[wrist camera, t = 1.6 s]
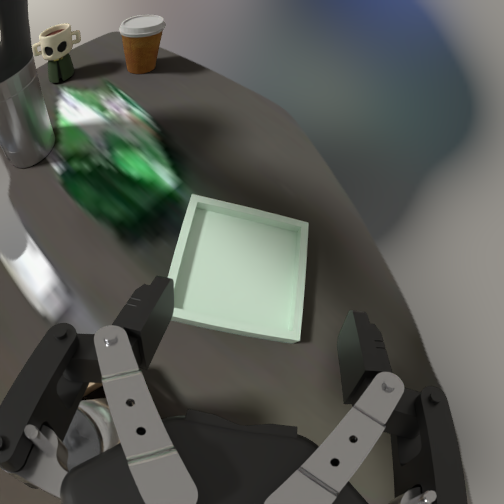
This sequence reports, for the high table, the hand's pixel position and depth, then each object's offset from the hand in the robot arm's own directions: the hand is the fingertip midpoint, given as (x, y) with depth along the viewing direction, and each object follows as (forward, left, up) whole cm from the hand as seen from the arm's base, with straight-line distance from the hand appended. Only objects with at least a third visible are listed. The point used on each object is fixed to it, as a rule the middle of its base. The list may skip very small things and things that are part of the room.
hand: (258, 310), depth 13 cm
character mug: (-46, +46, -22) cm, 69 cm away
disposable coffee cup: (-28, +52, -22) cm, 63 cm away
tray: (+1, +11, -22) cm, 25 cm away
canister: (-10, -10, -22) cm, 26 cm away
